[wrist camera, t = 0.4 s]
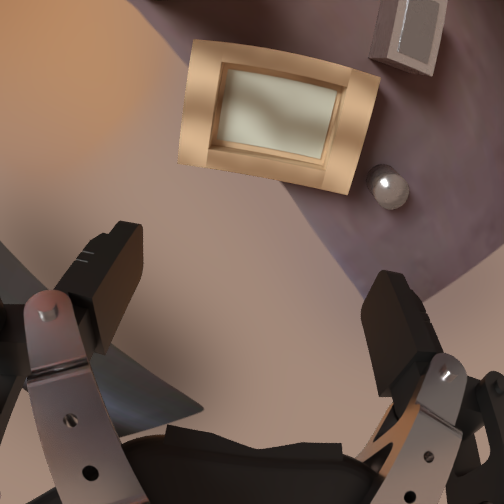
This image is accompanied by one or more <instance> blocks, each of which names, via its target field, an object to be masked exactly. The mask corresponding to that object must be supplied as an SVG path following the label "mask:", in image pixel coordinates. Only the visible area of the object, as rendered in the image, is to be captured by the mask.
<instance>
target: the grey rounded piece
mask: <svg viewBox="0 0 504 504" xmlns="http://www.w3.org/2000/svg"><path fill="white" fill-rule="evenodd" d="M366 183H367V187H368V189H369V190H370V192H371V193H372V194H373V196H374V197H375V199H376V200H377V202H378V203H379V204H380V206H382V207H383V208H385V209H390V210H392V209H396V208H399V207H400V206H402V205H403V204H404V203H405V202H406V200H407V198H408V195H409V187H408V184H407V182H406V181H405V180H404V179H403V178H402V177H401V176H400V175H399V174H398V173H397V172H396V171H395V170H394V169H393V168H392V167H391V166H389V165H385V164H380V165H377V166H375V167H373V168H372V169H371V170H370V171H369V173H368V175H367V179H366Z"/></svg>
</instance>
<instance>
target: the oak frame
mask: <svg viewBox="0 0 504 504" xmlns="http://www.w3.org/2000/svg"><path fill="white" fill-rule="evenodd" d="M380 79H381V78H380V77H377V76H374V75H371V74H368V73H365V72H362V71H359V70H356V69H352V68H349V67H346V66H342V65H338V64H335V63H331V62H327V61H324V60H320V59H316V58H311V57H307V56H303V55H298V54H294V53H289V52H284V51H279V50H274V49H268V48H262V47H256V46H250V45H243V44H235V43H227V42H218V41H208V40H196V39H193V45H192V51H191V57H190V64H189V70H188V77H187V84H186V92H185V99H184V107H183V116H182V124H181V133H180V143H179V153H178V164H183V165H190V166H197V167H204V168H210V169H216V170H223V171H229V172H235V173H241V174H246V175H252V176H257V177H263V178H268V179H273V180H279V181H284V182H289V183H294V184H299V185H304V186H308V187H313V188H318V189H322V190H327V191H331V192H336V193H340V194H344V195H348V192H349V189H350V186H351V183H352V180H353V176H354V173H355V170H356V167H357V163H358V160H359V157H360V153H361V150H362V146H363V143H364V139H365V136H366V132H367V129H368V125H369V122H370V118H371V114H372V110H373V107H374V103H375V99H376V95H377V91H378V87H379V83H380Z"/></svg>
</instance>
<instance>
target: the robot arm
mask: <svg viewBox="0 0 504 504" xmlns="http://www.w3.org/2000/svg"><path fill="white" fill-rule="evenodd" d="M142 271H143V227H142V225H141V224H136V223H131V222H125V221H119V222H118V223H117V224H116V225H115V226H114V228H113V229H112V230H111V232H110V233H109V234H106V233H102V234H100V235H98V236H97V237H95V238H93V239H92V240H90V242H89V243H88V244H87V245H86V247H85V248H84V249H83V251H82V252H81V253H80V254H79V256H78V257H77V258H76V261H74V262H73V263H72V265H71V266H70V267H69V269H68V270H67V271H66V273H65V274H64V275H63V277H62V278H61V280H60V281H59V282H58V284H57V285H56V287H55V288H54V289H53V290H45V291H41V292H39V293H37V294H35V295H34V296H32V297H31V298H30V299H29V300H28V302H27V303H26V304H3V303H2V300H1V298H0V444H1V441H2V438H3V435H4V432H5V430H6V427H7V424H8V421H9V419H10V416H11V413H12V411H13V408H14V406H15V403H16V401H17V398H18V395H19V393H20V391H21V389H22V386H23V384H24V382H25V379H26V377H27V387H28V392H29V397H30V401H31V406H32V411H33V415H34V419H35V423H36V426H37V431H38V434H39V437H40V441H41V445H42V448H43V451H44V455H45V458H46V461H47V464H48V467H49V470H50V473H51V475H52V478H53V481H54V483H55V487H54V488H52V489H50V490H49V491H47V492H45V493H44V494H42V495H40V496H39V497H37V498H35V499H33V500H32V501H30V502H28V503H26V504H438V502H439V500H440V498H441V495H442V493H443V490H444V488H445V487H446V495H447V503H448V504H504V376H503V375H502V374H501V373H499V372H496V371H491V372H489V373H488V374H487V375H486V376H485V377H484V378H483V379H482V380H478V379H475V378H473V377H469V376H467V374H466V371H465V368H464V367H463V365H462V364H461V363H460V361H459V360H458V359H456V358H455V357H454V356H452V355H450V354H447V353H444V352H443V349H442V347H441V345H440V342H439V340H438V337H437V335H436V333H435V330H434V328H433V326H432V323H430V319H429V317H428V314H426V310H425V308H424V306H423V303H422V301H421V300H420V298H419V297H418V296H417V295H416V294H415V293H414V292H413V290H411V289H410V288H409V285H408V283H407V281H406V279H405V277H404V275H403V274H401V273H397V272H391V271H386V270H382V271H380V272H379V274H378V275H377V277H376V279H375V281H374V283H373V285H372V287H371V289H370V291H369V293H368V295H367V297H366V299H365V301H364V303H363V305H362V309H361V321H362V325H363V329H364V333H365V337H366V341H367V345H368V350H369V354H370V358H371V362H372V367H373V371H374V376H375V380H376V385H377V390H378V395H379V397H392V399H393V402H392V403H391V405H389V407H388V409H387V410H386V412H385V414H384V416H383V418H382V419H381V421H380V423H379V425H378V426H377V428H376V430H375V431H374V433H373V435H372V436H371V438H370V440H369V441H368V443H367V444H366V446H365V447H364V449H363V450H362V451H361V452H360V453H359V454H358V455H357V456H356V457H355V458H352V457H350V456H347V455H344V454H342V444H341V443H305V442H301V443H296V444H290V445H285V446H279V447H272V448H266V449H254V448H251V447H248V446H245V445H242V444H239V443H237V442H234V441H231V440H228V439H226V438H223V437H221V436H218V435H216V434H213V433H209V432H203V431H198V430H192V429H187V428H182V427H177V426H172V425H167V428H166V433H165V435H150V436H144V437H140V438H136V439H133V440H130V441H127V442H126V443H123V444H122V443H121V441H120V439H119V436H118V434H117V432H116V430H115V427H114V425H113V423H112V421H111V418H110V416H109V414H108V411H107V409H106V406H105V404H104V401H103V398H102V396H101V393H100V391H99V388H98V385H97V382H96V380H95V377H94V374H93V371H92V368H91V365H90V360H91V357H92V355H93V353H94V352H95V353H99V354H102V355H106V353H107V351H108V348H109V346H110V344H111V341H112V339H113V337H114V335H115V332H116V330H117V328H118V326H119V324H120V321H121V319H122V317H123V315H124V313H125V311H126V308H127V306H128V304H129V302H130V300H131V298H132V295H133V294H134V292H135V290H136V287H137V285H138V283H139V281H140V279H141V276H142ZM484 425H485V429H486V433H487V437H488V441H489V445H490V456H489V458H488V460H487V461H486V462H485V463H484V464H482V465H481V463H480V458H479V453H478V449H477V444H476V440H475V436H474V433H475V432H476V431H478V430H479V429H480V428H482V427H483V426H484ZM0 498H1V493H0Z"/></svg>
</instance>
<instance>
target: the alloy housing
mask: <svg viewBox="0 0 504 504" xmlns="http://www.w3.org/2000/svg"><path fill="white" fill-rule="evenodd" d="M447 1H448V0H381V1H380V6H379V11H378V16H377V21H376V26H375V30H374V35H373V40H372V44H371V48H370V53H369V57H368V58H370V59H373V60H376V61H378V62H381V63H384V64H387V65H389V66H392V67H395V68H397V69H400V70H402V71H405V72H407V73H412V74H419V75H426V76H433V72H434V68H435V64H436V59H437V55H438V50H439V45H440V41H441V36H442V30H443V25H444V19H445V14H446V7H447Z"/></svg>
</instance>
